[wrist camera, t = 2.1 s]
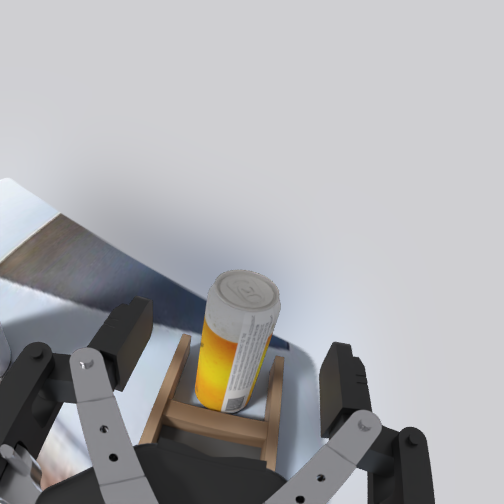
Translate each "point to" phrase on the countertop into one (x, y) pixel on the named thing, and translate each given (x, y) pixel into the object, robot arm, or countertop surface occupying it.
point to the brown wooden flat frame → (215, 418)
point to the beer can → (235, 338)
